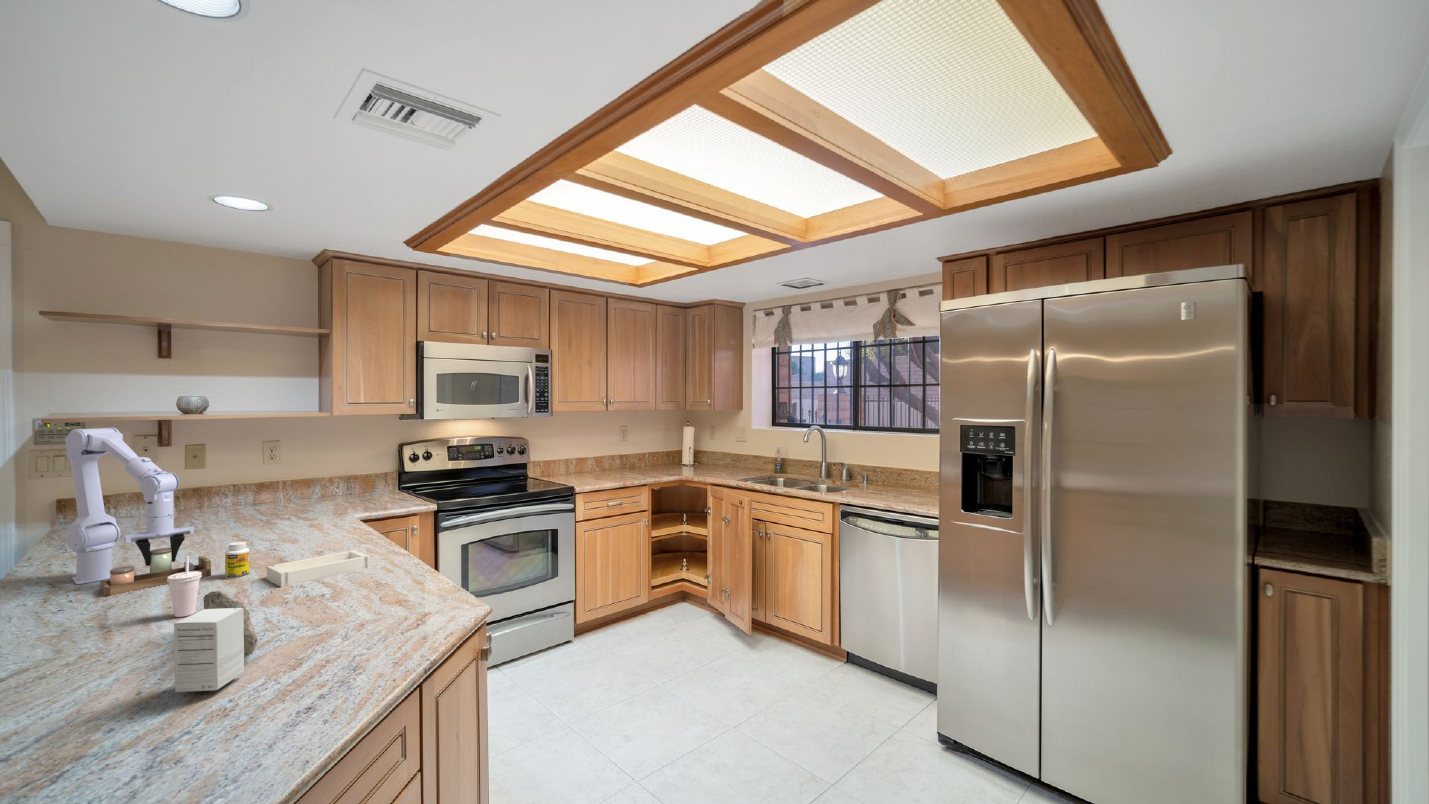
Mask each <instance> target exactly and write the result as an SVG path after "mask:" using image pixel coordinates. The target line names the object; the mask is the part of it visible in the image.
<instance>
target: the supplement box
mask: <svg viewBox="0 0 1429 804" xmlns="http://www.w3.org/2000/svg"><path fill="white" fill-rule="evenodd" d="M243 618H244V617H243V608H222V609H204V608H203V609H202V610H200V611H197V612H195V613H194V614H191V615H188V616H186V617H185V618H182V619H180V620H179V621H176V622H174V623H173V625H174V626H173V629H174V630H173V634H174V635H173V637H174V638H173V639H174V640H173V643H174V647H173V648H174V651H173V652H174V691H175V692H176V693H178V692H180V693H181V692H183V693H184V692H203V691H204V692H205V691H206V692H207V691H210V692H211V691H218V690H219V689H221V688H223V687H224V686H225V685H226V684H228V683H230V682H231V681H233V680H234V679H235V678H237V677H239V676H240V675H242V674H243V673H245V657H244V619H243Z"/></svg>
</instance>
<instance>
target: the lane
mask: <svg viewBox="0 0 1429 804" xmlns="http://www.w3.org/2000/svg"><path fill="white" fill-rule="evenodd" d="M197 559H198V564H196V565H195V564H193V565H194V567H196V571H199V572H201V573H202V577H200V579H202V578H208V577H211V576H212V560H211V559H210V558H207V557H205V556H204V555H199V556H198V557H197ZM183 572H184V566H183V567H177V568H172V570H170V571H166V572H160V573H150V572H148V573H147V572H146V573H143V574H142V573H141V574H136V575H135V574H134V582H130V583H124V584H118V585H113V586H110V579H107V580H101V581H99V582H100V584H99V585H100V588H99V589H100V592H101V593H102V594H103V595H104V597H106V598H107V597H112V595H113V596H117V595H116V594H118V595H123V594H127V593H126V592H128V593H131V592H130V591H133V592H137V590H138V591H142V590H141V589H143V590H146V589H145V588H148V589H153V588H157V587H156V586H158V587H161V586H160V585H163V586H168V585H169V582H167V577H168V576H171V575H173V574H177V573H183ZM167 584H168V585H167ZM152 587H153V588H152ZM122 593H123V594H122Z"/></svg>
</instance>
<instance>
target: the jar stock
mask: <svg viewBox="0 0 1429 804" xmlns="http://www.w3.org/2000/svg"><path fill="white" fill-rule="evenodd" d="M134 576H135V566H132V565H130V566H129V565H128V566H126V565H125V566H120V567H115V568H112V569H111V570H110V579H109V580H110V586H113V585H118V584H124V583H130V582H134Z"/></svg>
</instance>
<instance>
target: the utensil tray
mask: <svg viewBox="0 0 1429 804" xmlns="http://www.w3.org/2000/svg"><path fill="white" fill-rule="evenodd" d="M368 568H369V569H370V568H371V555H368V554H366V553H363V552H360V551H357V550H353V549H352V550H347V551H346V550H345V551H342V552H336V553H330V554H326V555H325V554H324V555H320V556H316V557H310V558H309V557H308V558H304V559H300V560H299V559H298V560H294V561H288V562H284V563H283V562H282V563H277V564H273V565H267V566H266V580H268V581H270V582H271V583H273V584H275V585H277V586H278V587H280V588H284V587H290V586H293V585H298V584H304V583H308V582H311V581H317V580H321V579H324V578H329V577H330V578H331V577H333V576H339V575H342V574H347V573H350V572H356V571H360V570H364V569H368Z"/></svg>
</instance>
